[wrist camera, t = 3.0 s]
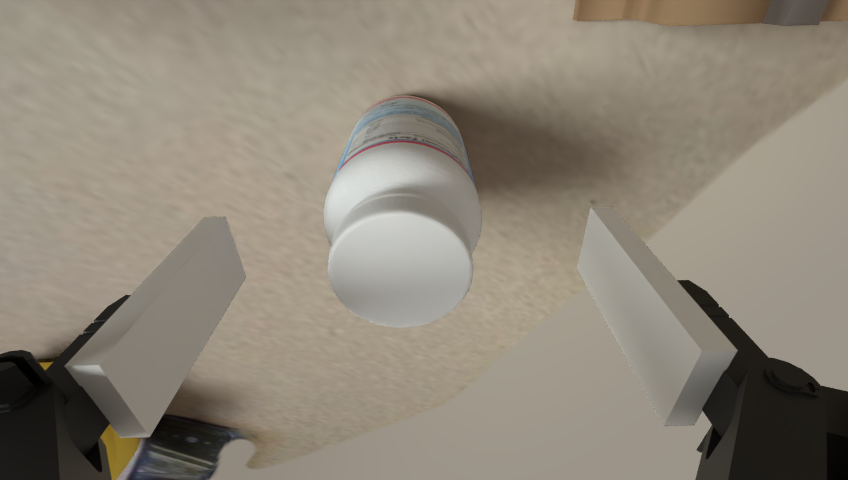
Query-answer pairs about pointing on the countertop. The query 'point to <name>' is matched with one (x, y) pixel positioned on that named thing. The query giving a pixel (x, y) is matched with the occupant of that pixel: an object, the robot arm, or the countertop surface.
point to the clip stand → (714, 11)
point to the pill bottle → (402, 215)
